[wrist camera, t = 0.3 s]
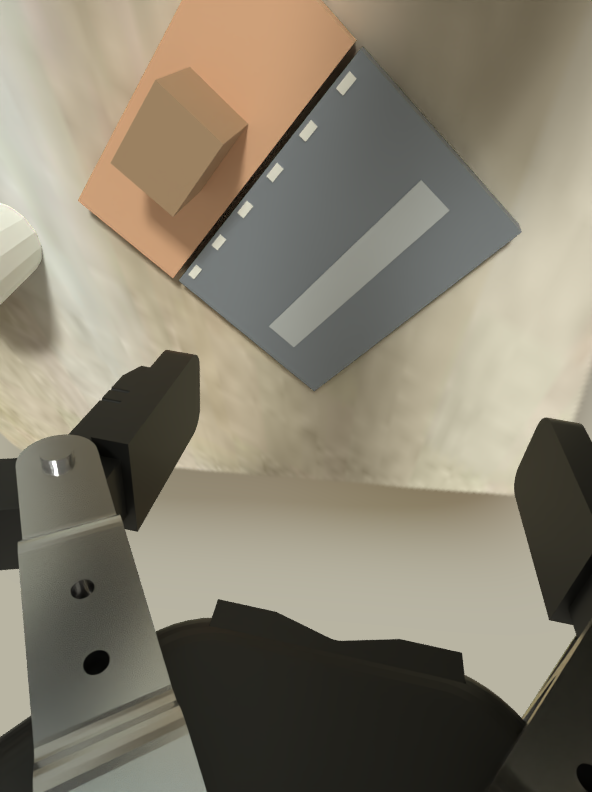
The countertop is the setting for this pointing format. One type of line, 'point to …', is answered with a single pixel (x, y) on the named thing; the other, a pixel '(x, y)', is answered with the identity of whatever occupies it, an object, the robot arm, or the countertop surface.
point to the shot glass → (16, 250)
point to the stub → (209, 117)
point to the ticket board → (348, 230)
